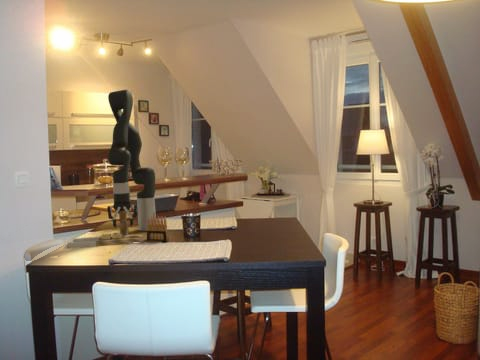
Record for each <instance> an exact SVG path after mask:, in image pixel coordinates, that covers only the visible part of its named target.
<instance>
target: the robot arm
mask: <svg viewBox="0 0 480 360" xmlns="http://www.w3.org/2000/svg"><path fill="white" fill-rule="evenodd" d="M133 97H134V96H133V94H132V92H131V91H130V90H129V89H122V90H121V89H120V90H116V91H111V92H109V93H108V96H107V99H108V103H109V107H110V109H111V112H112V114H113V116H114V119H115V122H116V123H115V126H114V127H113V130H112V142H111V143H112V144H111V147H110V149H109V151H108V155H107V161H108V163H109V164H110V166H122V168H121V169H117V170H114V171H113V173H112V181H113V184H112V185H113V186H112V189H113V190H112V196H113V205H107V208H106V209H107V214H108V219H109V220H112V226H113V227H114V228H117V227H118V226H117V224H118V223H117V217H118V216H119V211H126V215H127V216H128V217H129V226H130V227H133V226H134V218H137V220H138V221H137V223H138V231H140V232H141V231H142V232H144V231H145V232H147V218H148V216H149V218H150V224H151V216H152V217H153V224H154V216H155V217H156V216H157V215H156V203H155V200H156V198H155V193H156V173H155V170H154V169H153V168H152V167H142V166H141V163H140V156H141V155H140V154H141V151H142V148H143V147H142V146H143V141H142V139H141V135H140V132H139V130H138V129H137V127H135V126H134V124H133V123H132V122H131V117H132V112H133V111H132V110H133V107H134V106H133V105H134V98H133ZM123 148H124V149H123ZM121 149H122V150H121ZM129 168H130V174H131V177H132V181H133V182H134V184H135V185H138V186H143V189H142V190H140V191H138V192H137V193H136V203H137V204H131V193H130V190H131V189H130V185H129ZM131 208H132V209H133V214H132V212H131V211H130V209H131ZM113 210H115V212H114V215H112V211H113ZM156 218H157V217H156Z"/></svg>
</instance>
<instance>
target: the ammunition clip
mask: <svg viewBox="0 0 480 360" xmlns="http://www.w3.org/2000/svg"><path fill="white" fill-rule="evenodd" d="M146 240H147V241H150V240H151V241H161V243H168V242H169V230H168V225H167V217H166V215H164V216H162V215H161V216H159V215H157V217H155V216H154V224H153V217H152V216H151V224H150V218H149V216H148V218H147V231H146Z"/></svg>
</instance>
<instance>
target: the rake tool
mask: <svg viewBox="0 0 480 360" xmlns="http://www.w3.org/2000/svg"><path fill="white" fill-rule="evenodd" d="M118 216H119V233H122V236H129V234H128V221H127V220H128V219H127V213H126V211H119V213H118Z"/></svg>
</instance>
